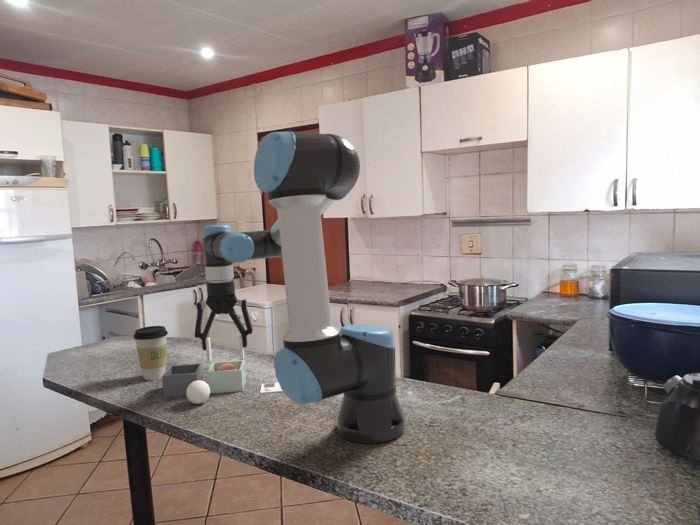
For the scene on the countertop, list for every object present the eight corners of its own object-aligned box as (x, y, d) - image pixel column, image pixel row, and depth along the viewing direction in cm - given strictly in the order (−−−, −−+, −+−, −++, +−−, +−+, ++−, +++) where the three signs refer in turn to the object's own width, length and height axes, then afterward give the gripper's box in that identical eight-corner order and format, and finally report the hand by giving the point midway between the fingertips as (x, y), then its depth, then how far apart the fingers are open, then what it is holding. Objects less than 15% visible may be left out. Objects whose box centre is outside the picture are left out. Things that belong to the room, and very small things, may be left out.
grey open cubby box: (198, 394, 139) (196, 373, 138) (163, 397, 138) (161, 376, 137) (204, 383, 148) (202, 363, 147) (172, 385, 147) (170, 365, 146)
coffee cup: (172, 379, 153) (168, 330, 151) (137, 384, 149) (132, 334, 147) (170, 369, 162) (166, 323, 160) (137, 374, 158) (133, 327, 156)
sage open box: (242, 391, 140) (241, 369, 139) (208, 393, 139) (207, 372, 138) (246, 379, 149) (244, 360, 148) (214, 382, 148) (212, 362, 147)
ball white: (208, 406, 130) (207, 383, 129) (184, 408, 129) (183, 385, 128) (212, 397, 136) (211, 376, 135) (189, 399, 135) (188, 378, 134)
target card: (293, 390, 138) (293, 389, 138) (260, 393, 137) (259, 392, 137) (293, 381, 145) (293, 380, 145) (261, 384, 144) (261, 383, 144)
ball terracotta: (237, 387, 141) (236, 366, 140) (215, 389, 140) (213, 368, 140) (239, 380, 147) (238, 360, 146) (218, 382, 146) (217, 361, 146)
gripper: (259, 276, 145) (264, 353, 148) (183, 280, 143) (190, 358, 146) (257, 280, 138) (263, 360, 140) (177, 284, 136) (184, 366, 138)
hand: (226, 359), depth 143 cm, fingers open, 8 cm apart
